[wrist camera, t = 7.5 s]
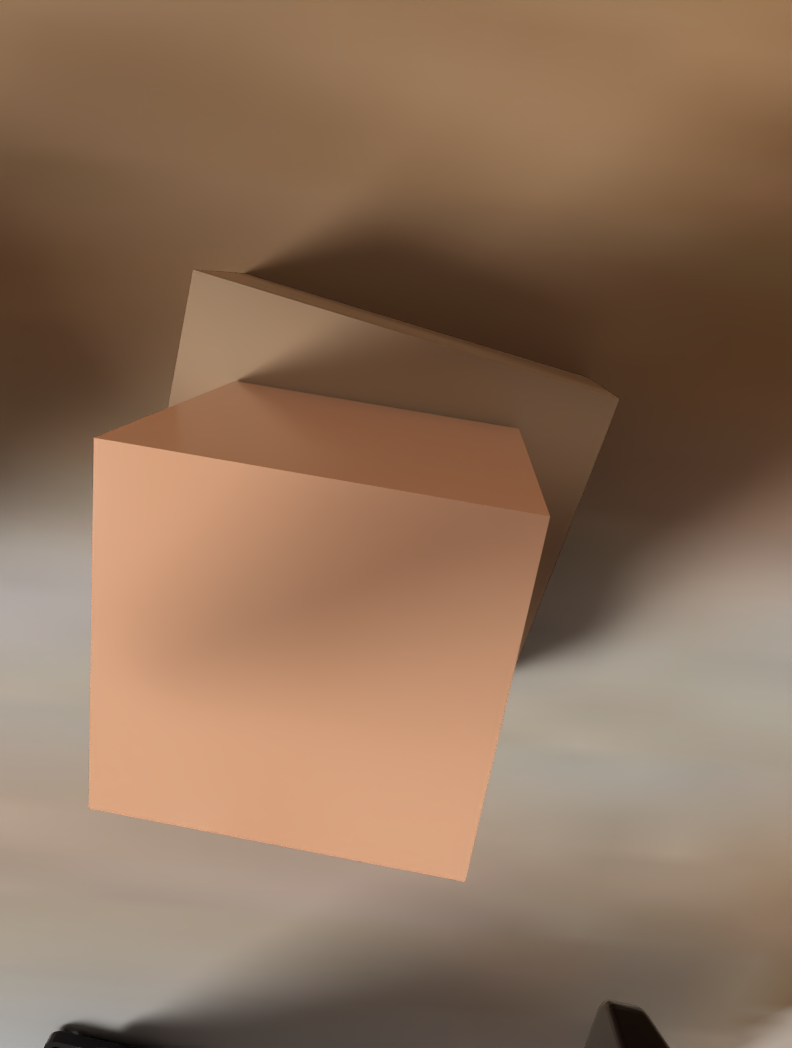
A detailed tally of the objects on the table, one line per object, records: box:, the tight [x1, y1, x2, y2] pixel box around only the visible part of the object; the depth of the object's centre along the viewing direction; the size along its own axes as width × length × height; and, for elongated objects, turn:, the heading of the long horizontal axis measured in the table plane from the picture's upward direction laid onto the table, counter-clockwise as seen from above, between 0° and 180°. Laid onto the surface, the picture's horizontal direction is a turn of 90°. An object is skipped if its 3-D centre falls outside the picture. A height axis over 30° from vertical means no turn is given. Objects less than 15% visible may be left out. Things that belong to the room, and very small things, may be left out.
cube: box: [89, 381, 550, 882], centre depth 13 cm, size 6×6×6 cm
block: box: [168, 270, 620, 666], centre depth 18 cm, size 9×9×4 cm
